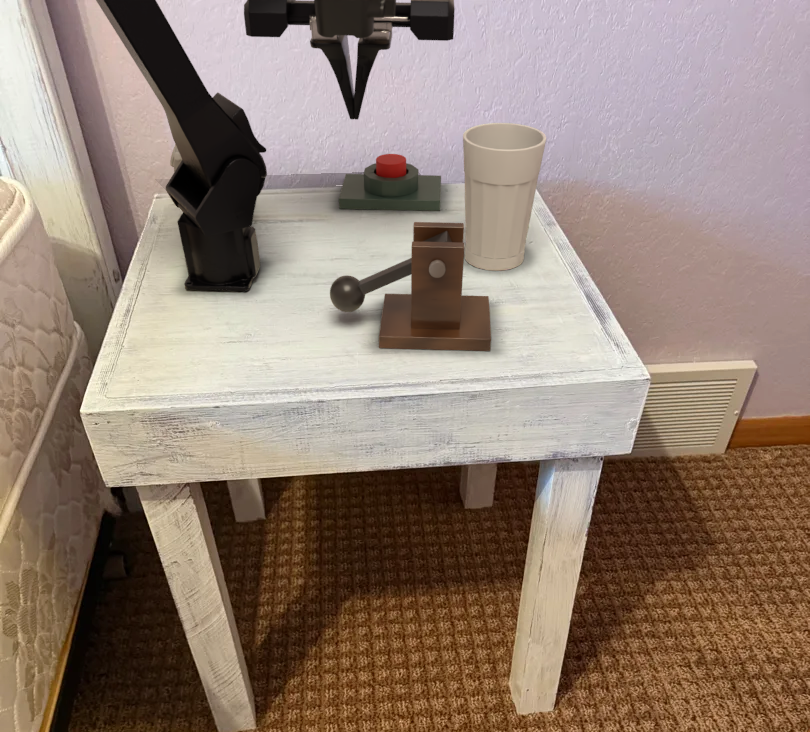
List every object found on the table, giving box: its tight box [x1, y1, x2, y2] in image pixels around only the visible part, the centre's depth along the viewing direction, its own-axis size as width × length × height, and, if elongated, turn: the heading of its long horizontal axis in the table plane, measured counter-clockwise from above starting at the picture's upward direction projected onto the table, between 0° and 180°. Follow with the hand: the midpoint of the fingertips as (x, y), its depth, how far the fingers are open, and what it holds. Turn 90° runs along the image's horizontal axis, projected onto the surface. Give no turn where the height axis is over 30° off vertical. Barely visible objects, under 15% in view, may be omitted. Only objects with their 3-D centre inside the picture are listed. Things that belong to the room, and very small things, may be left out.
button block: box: [338, 162, 442, 212], centre depth 92 cm, size 12×8×3 cm, turn 87°
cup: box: [462, 122, 547, 271], centre depth 77 cm, size 8×8×12 cm
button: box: [375, 153, 407, 178], centre depth 91 cm, size 4×4×2 cm
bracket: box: [378, 221, 492, 352], centre depth 68 cm, size 10×8×9 cm
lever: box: [329, 231, 452, 313], centre depth 68 cm, size 12×3×3 cm, turn 88°
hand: (354, 118), depth 75 cm, fingers closed
